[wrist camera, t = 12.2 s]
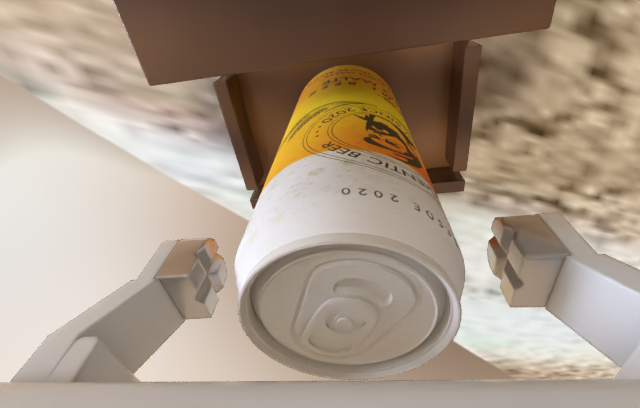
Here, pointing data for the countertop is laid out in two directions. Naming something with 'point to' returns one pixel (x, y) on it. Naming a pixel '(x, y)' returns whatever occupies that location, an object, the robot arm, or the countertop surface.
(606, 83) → the countertop surface
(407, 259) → the beer can
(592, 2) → the countertop surface
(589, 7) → the countertop surface
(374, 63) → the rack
